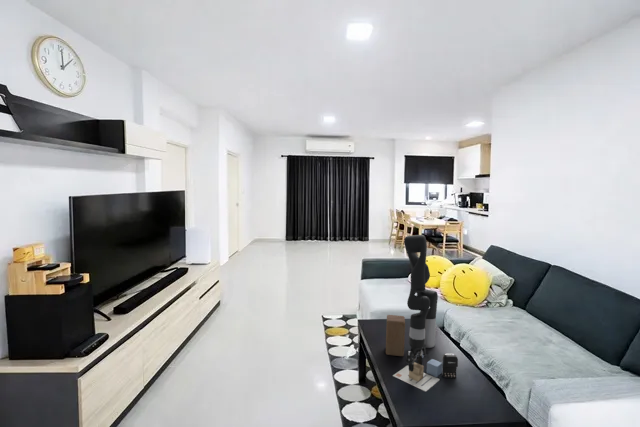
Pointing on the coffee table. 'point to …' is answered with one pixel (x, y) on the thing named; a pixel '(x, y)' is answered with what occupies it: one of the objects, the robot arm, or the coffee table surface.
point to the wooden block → (395, 335)
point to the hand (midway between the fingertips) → (415, 367)
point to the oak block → (416, 372)
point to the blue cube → (434, 367)
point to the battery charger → (449, 365)
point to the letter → (421, 384)
